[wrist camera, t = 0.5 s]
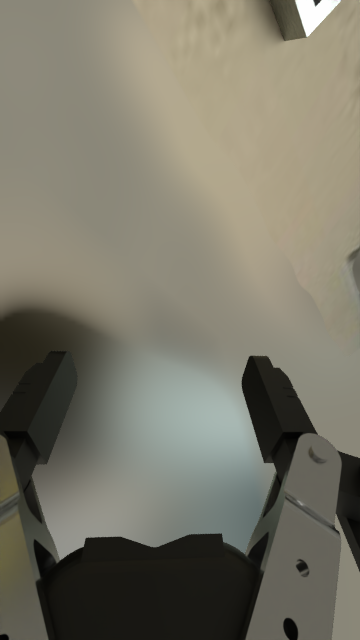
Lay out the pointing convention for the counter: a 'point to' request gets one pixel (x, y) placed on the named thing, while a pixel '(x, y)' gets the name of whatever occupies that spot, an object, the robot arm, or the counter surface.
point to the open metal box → (301, 16)
